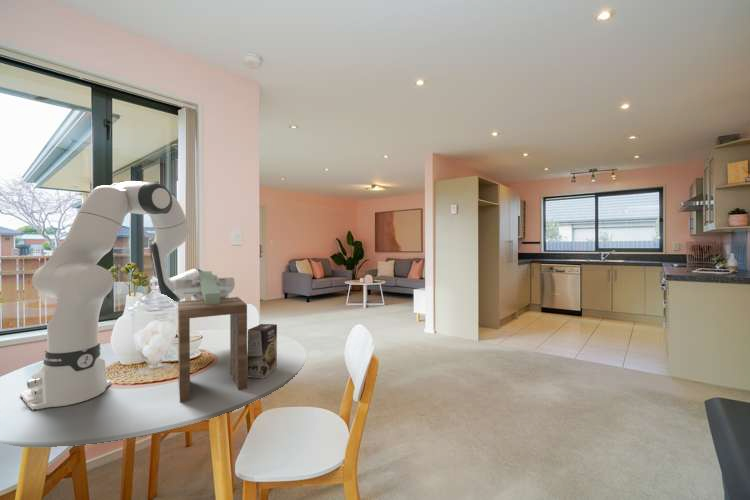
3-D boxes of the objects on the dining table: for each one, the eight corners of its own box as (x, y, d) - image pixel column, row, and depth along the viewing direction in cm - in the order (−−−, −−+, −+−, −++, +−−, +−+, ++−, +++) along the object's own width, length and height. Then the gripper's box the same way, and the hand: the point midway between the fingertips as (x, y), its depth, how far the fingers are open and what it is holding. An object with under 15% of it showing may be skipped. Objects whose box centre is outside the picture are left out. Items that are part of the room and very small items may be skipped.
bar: (199, 280, 125) (199, 271, 124) (211, 280, 127) (211, 271, 126) (205, 304, 103) (205, 293, 103) (219, 303, 105) (220, 292, 105)
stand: (178, 381, 109) (178, 301, 109) (238, 371, 119) (237, 297, 118) (179, 402, 96) (179, 310, 95) (247, 388, 105) (247, 304, 104)
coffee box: (264, 379, 112) (264, 330, 112) (246, 377, 113) (246, 329, 113) (277, 369, 121) (277, 324, 120) (261, 367, 122) (261, 323, 122)
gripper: (172, 286, 128) (172, 270, 117) (231, 282, 138) (235, 268, 128) (173, 302, 125) (172, 287, 115) (232, 297, 136) (237, 283, 125)
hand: (206, 277), depth 121 cm, fingers closed on bar, 4 cm apart
